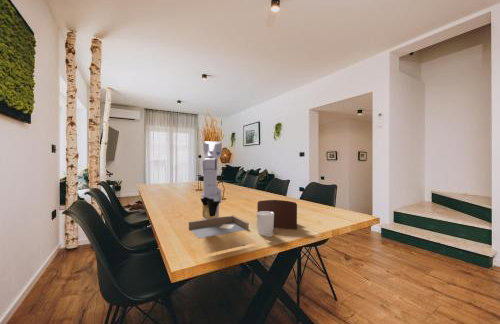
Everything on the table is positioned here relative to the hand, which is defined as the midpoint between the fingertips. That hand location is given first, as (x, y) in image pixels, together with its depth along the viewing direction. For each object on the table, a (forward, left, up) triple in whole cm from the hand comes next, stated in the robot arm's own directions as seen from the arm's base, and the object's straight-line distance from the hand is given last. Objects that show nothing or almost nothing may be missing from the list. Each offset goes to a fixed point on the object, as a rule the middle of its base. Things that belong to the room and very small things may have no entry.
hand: (209, 214), depth 98 cm
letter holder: (+4, +35, -9) cm, 37 cm away
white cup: (+13, +21, -9) cm, 27 cm away
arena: (-3, +5, -9) cm, 11 cm away
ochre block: (0, 0, -1) cm, 1 cm away
